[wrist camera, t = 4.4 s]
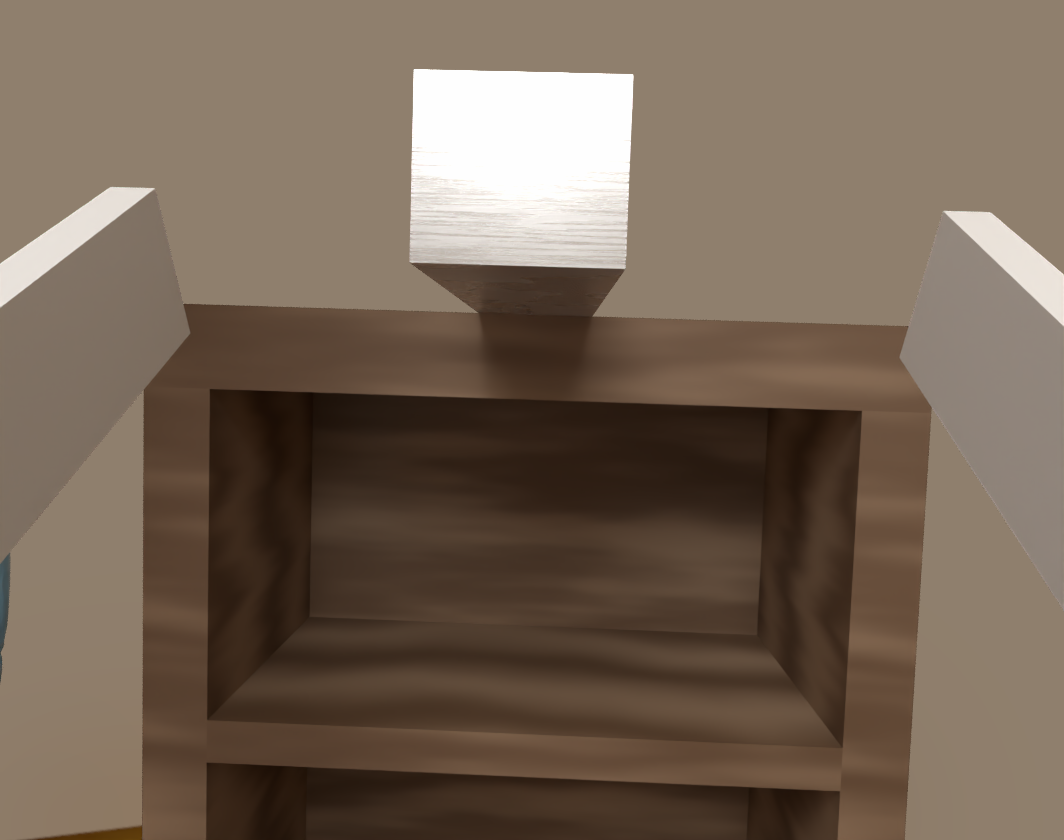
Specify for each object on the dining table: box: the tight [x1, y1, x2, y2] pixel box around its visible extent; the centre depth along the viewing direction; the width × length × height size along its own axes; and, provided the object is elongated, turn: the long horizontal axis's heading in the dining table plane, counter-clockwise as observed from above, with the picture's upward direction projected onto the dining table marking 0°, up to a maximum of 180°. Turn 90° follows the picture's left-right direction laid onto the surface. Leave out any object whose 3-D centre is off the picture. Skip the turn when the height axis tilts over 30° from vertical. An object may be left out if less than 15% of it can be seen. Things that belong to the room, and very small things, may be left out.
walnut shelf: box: [142, 304, 932, 840], centre depth 37 cm, size 14×28×30 cm, turn 88°
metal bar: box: [410, 70, 633, 317], centre depth 30 cm, size 30×7×10 cm, turn 178°
